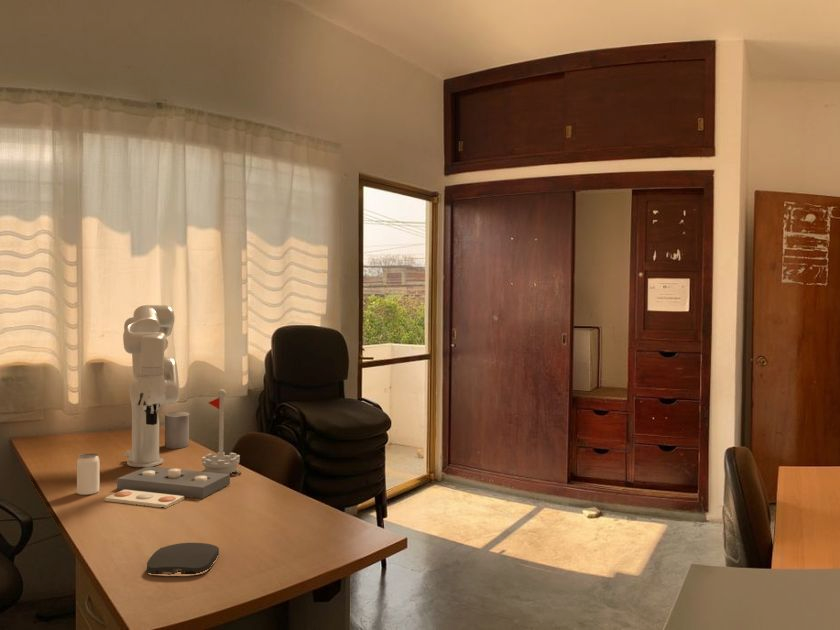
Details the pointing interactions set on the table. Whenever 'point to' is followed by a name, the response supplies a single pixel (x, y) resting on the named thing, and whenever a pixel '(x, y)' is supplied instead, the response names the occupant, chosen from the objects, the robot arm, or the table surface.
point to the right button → (200, 478)
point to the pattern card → (144, 498)
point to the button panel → (173, 482)
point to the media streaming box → (183, 558)
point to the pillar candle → (176, 430)
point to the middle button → (174, 473)
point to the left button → (148, 473)
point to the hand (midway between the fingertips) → (151, 424)
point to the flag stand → (220, 445)
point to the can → (88, 474)
